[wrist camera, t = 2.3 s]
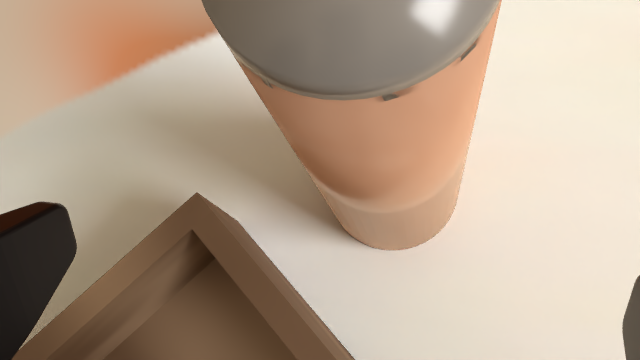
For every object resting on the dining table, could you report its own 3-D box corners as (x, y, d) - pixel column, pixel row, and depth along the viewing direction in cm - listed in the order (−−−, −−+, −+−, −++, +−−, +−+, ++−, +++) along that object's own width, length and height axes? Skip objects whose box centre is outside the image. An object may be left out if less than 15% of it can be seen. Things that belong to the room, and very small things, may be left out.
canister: (389, 277, 19) (334, 149, 7) (303, 185, 21) (137, -51, 9) (486, 188, 20) (589, -81, 8) (394, 103, 21) (357, -235, 9)
